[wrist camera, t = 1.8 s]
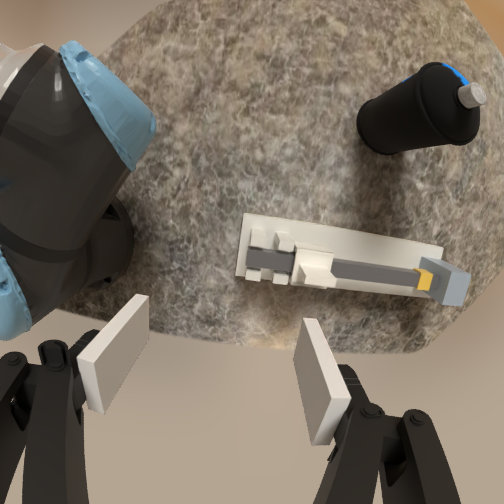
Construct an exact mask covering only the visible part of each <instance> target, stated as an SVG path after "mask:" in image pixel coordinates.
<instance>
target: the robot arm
mask: <svg viewBox="0 0 504 504" xmlns="http://www.w3.org/2000/svg"><path fill="white" fill-rule="evenodd" d="M59 50H60V52H59V53H58V52H56V51H54V50H52V49H51V48H49V47H47V46H46V45H44V44H42V43H40V44H38V45H34V46H31V47H29V48H26V49H23V50H19V51H14V50H12V49H10V48H9V47H7V46H5V45H3V44H2V43H0V340H3V341H8V340H11V339H14V338H15V337H17V336H19V335H20V334H22V333H24V332H27V331H29V330H30V328H31V327H32V326H33V325H34V324H36V323H37V322H38V321H40V320H41V319H42V318H43V317H45V316H46V315H47V314H49V313H50V312H51V311H53V310H54V309H55V308H57V307H58V306H59V305H61V304H62V303H63V302H65V301H66V300H68V299H69V298H70V297H72V296H73V295H74V294H76V293H77V292H88V291H97V290H101V289H103V288H106V287H108V286H109V285H111V284H112V283H113V282H115V281H116V280H117V279H118V278H120V277H121V276H122V274H123V273H124V272H125V270H126V269H127V267H128V265H129V263H130V260H131V257H132V253H133V246H134V235H133V228H132V224H131V221H130V218H129V215H128V213H127V211H126V209H125V207H124V206H123V204H122V203H121V202H120V200H119V199H118V198H117V197H116V196H115V195H116V194H117V192H118V191H119V189H120V188H121V186H122V185H123V183H124V182H125V180H126V179H127V177H128V176H129V175H130V173H131V172H134V171H135V169H136V164H137V162H138V160H139V159H140V157H141V156H142V154H143V153H144V151H145V150H146V148H147V147H148V145H149V144H150V142H151V141H152V140H153V138H154V136H155V133H156V128H157V124H156V119H155V116H154V114H153V113H152V112H151V110H150V109H149V108H148V107H147V106H146V105H145V104H144V103H143V102H142V101H141V100H140V99H139V98H138V97H137V96H136V95H135V94H134V93H133V92H132V91H131V90H130V89H129V88H128V87H127V86H126V85H125V84H124V83H123V82H122V81H121V80H120V79H119V78H118V77H117V76H116V75H114V74H113V73H112V72H111V71H110V70H109V69H108V68H107V67H106V66H105V65H104V64H102V63H101V62H100V61H99V60H98V59H97V58H95V57H94V56H93V55H92V54H91V53H89V52H88V51H87V50H85V48H84V47H83V46H82V45H80V44H79V43H78V42H76V41H74V40H72V41H69V42H67V43H66V44H65V45H62V46H61V47H60V49H59ZM148 340H149V296H146V295H140V294H136V295H135V296H134V297H133V298H132V299H131V300H130V301H129V302H128V303H127V304H126V305H125V306H124V307H123V308H122V309H121V310H120V311H119V312H118V313H117V314H116V315H115V316H114V317H113V318H112V320H111V321H110V322H109V323H108V324H107V325H106V326H105V327H104V328H103V329H102V330H101V331H99V330H95V329H93V330H91V331H89V332H86V333H85V334H84V335H83V336H82V337H81V338H80V340H78V341H77V342H76V343H75V344H74V345H73V346H72V347H71V348H70V349H69V350H68V346H67V345H66V343H65V342H63V341H60V340H48V341H44V342H43V343H41V344H40V345H39V346H38V351H39V356H40V360H41V363H42V365H36V364H29V363H28V362H27V358H26V356H25V355H24V354H23V353H21V352H9V353H7V354H5V355H4V356H2V357H1V359H0V504H4V503H5V499H6V496H7V493H8V490H9V487H10V484H11V482H12V479H13V476H14V473H15V471H16V468H17V465H18V463H19V460H20V458H21V455H22V453H23V450H24V448H25V446H26V449H25V458H24V471H23V489H22V504H89V499H88V492H87V482H86V471H85V457H84V456H85V455H84V422H83V421H84V412H83V408H82V405H83V404H84V402H85V401H87V405H88V409H90V410H93V411H96V412H99V413H102V414H105V412H106V411H107V409H108V407H109V406H110V404H111V402H112V400H113V398H114V397H115V395H116V393H117V392H118V390H119V388H120V387H121V385H122V383H123V381H124V380H125V378H126V376H127V375H128V373H129V371H130V370H131V368H132V366H133V365H134V363H135V361H136V360H137V358H138V356H139V355H140V353H141V351H142V350H143V348H144V347H145V345H146V343H147V341H148ZM293 361H294V366H295V370H296V374H297V379H298V384H299V389H300V393H301V398H302V402H303V407H304V412H305V417H306V421H307V426H308V431H309V436H310V441H311V445H312V446H313V445H329V444H330V442H331V440H332V438H333V437H334V439H335V442H336V445H335V447H334V449H333V451H332V452H331V454H330V456H329V458H328V460H327V461H329V463H328V466H327V468H326V471H325V474H324V477H323V479H322V482H321V485H320V488H319V490H318V492H317V495H316V498H315V500H314V502H313V504H372V503H373V498H374V493H375V487H376V482H377V477H378V471H379V474H380V482H381V489H382V498H383V504H461V502H460V498H459V495H458V492H457V489H456V486H455V482H454V479H453V477H452V473H451V470H450V467H449V465H448V462H447V459H446V456H445V454H444V451H443V448H442V445H441V443H440V440H439V438H438V435H437V433H436V430H435V428H434V425H433V423H432V420H431V418H430V417H429V415H427V414H426V413H425V412H423V411H421V410H417V409H411V410H408V411H406V412H405V413H404V415H403V417H402V418H401V417H394V416H388V415H385V412H384V411H383V410H382V408H381V407H379V406H378V405H376V404H373V403H370V401H369V399H368V397H367V395H366V393H365V391H364V389H363V387H362V385H361V383H360V381H359V379H358V377H357V375H356V373H355V371H354V370H353V369H352V368H351V367H350V366H348V365H341V364H340V365H339V364H336V361H335V359H334V357H333V354H332V352H331V350H330V348H329V345H328V343H327V341H326V339H325V336H324V334H323V332H322V330H321V328H320V325H319V323H318V321H317V319H312V318H303V320H302V325H301V329H300V333H299V337H298V341H297V346H296V350H295V354H294V358H293ZM12 399H13V401H12ZM11 401H12V402H11Z"/></svg>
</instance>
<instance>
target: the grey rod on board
mask: <svg viewBox="0 0 504 504" xmlns="http://www.w3.org/2000/svg"><path fill="white" fill-rule="evenodd" d="M294 241H297V242H304V243H311V244H318V245H324V246H326V247H327V248H328V249H329V250H331V251H332V252H333V253H334V256H333V261H332V266H331V271H330V272H331V273H332V274H333V276H334V277H335V278H336V279H337V281H336V285H335V287H329V288H338V289H346V290H355V291H365V292H374V293H383V294H393V295H403V296H414V297H424V298H430V297H432V298H433V299H435V300H436V301H437V302H439V303H440V304H442V305H452V306H462V305H463V301H464V298H465V295H466V292H467V289H468V285H469V282H470V278H471V274H469V273H467V272H465V271H463V270H461V269H459V268H457V267H455V266H453V265H451V264H449V263H447V262H445V261H443V260H441V257H442V253H443V248H442V247H440V246H435V245H430V244H425V243H420V242H415V241H410V240H405V239H400V238H395V237H390V236H384V235H379V234H374V233H368V232H363V231H357V230H351V229H345V228H340V227H334V226H328V225H322V224H316V223H309V222H303V221H297V220H290V219H284V218H277V217H270V216H263V215H256V214H249V213H244V216H243V223H242V230H241V238H240V245H239V252H238V260H237V267H236V275H235V276H242V277H245V280H252V281H260V279H265V280H272V282H273V283H275V284H283V285H287V283H290V282H289V279H288V278H289V276H288V273H287V272H292V271H293V265H294V260H295V254H296V253H294V252H290V251H293V250H294V244H295V242H294Z"/></svg>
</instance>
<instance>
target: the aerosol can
mask: <svg viewBox="0 0 504 504" xmlns="http://www.w3.org/2000/svg"><path fill="white" fill-rule="evenodd" d="M485 102H486V94H485V92H484V90H483V88H482V87H481V86H480V85H479V84H478V83H475V82H473V83H471V84H469V82H468V81H467V80H466V79H465V78H464V77H463V76H462V75H461V74H460V73H459V72H458V71H457V70H455V69H454V68H452V67H451V66H449V65H446V64H444V63H440V62H431V63H428V64H425V65H424V66H423V67H421V69H420V70H419V71H418V72H417V73H416V74H414V75H412V76H411V77H409V78H407V79H406V80H404V81H402V82H401V83H399V84H398V85H396V86H394V87H393V88H391V89H390V90H388V91H386V92H385V93H383V94H382V95H380V96H378V97H377V98H375V99H371V100H369V101H367V102H366V103H364V104H363V106H362V107H361V108H360V110H359V112H358V117H357V126H358V131H359V134H360V136H361V138H362V140H363V141H364V142H365V144H366V145H367V146H368V147H369V148H370V149H372V150H373V151H375V152H377V153H379V154H382V155H394V154H397V153H398V152H401V151H407V150H413V149H419V148H426V147H433V146H440V145H447V144H452V145H458V146H461V145H466V144H468V143H469V142H471V141H472V140H473V139H474V138H475V136H476V134H477V132H478V129H479V126H480V105H484V104H485Z"/></svg>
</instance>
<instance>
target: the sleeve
mask: <svg viewBox="0 0 504 504" xmlns="http://www.w3.org/2000/svg"><path fill="white" fill-rule="evenodd" d="M294 242H295V244H294V250H293V251H290V252H294V253H296V254H295V260H294V265H293V271H292V272H287V273H288V276H289V278H288V279H289V282H290V284H291V285H295V286H304V287H312V288H320V289H327V287H335V285H336V281H337V279H336V278H335V277H334V276H333V274H332V273H331V272H330V271H331V266H332V261H333V256H334V253H333V252H332V251H331V250H329V249H328V248H327V247H326V246H324V245H318V244H311V243H304V242H297V241H294Z"/></svg>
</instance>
